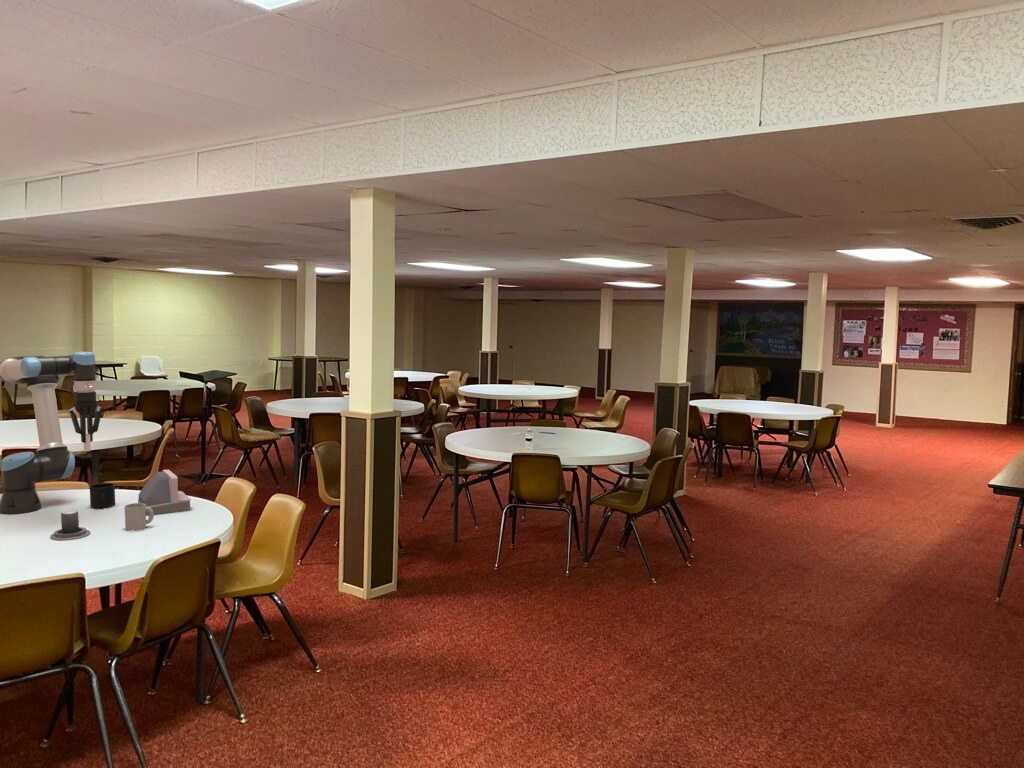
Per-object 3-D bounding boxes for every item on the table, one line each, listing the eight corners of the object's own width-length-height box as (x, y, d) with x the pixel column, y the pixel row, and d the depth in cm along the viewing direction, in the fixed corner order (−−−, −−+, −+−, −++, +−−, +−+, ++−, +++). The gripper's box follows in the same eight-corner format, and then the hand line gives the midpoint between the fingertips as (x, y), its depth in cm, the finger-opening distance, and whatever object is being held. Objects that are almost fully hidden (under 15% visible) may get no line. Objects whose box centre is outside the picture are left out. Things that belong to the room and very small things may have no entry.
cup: (124, 527, 310) (124, 504, 309) (153, 523, 315) (152, 501, 314) (126, 531, 304) (125, 508, 303) (154, 528, 309) (154, 505, 308)
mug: (90, 511, 333) (89, 490, 332) (90, 505, 344) (89, 484, 343) (115, 509, 337) (114, 487, 336) (115, 502, 348) (114, 482, 347)
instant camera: (191, 512, 334) (190, 476, 332) (136, 517, 325) (135, 480, 324) (188, 501, 353) (187, 467, 351) (136, 505, 344) (135, 471, 343)
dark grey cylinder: (59, 534, 298) (58, 512, 297) (75, 531, 302) (74, 509, 301) (65, 537, 294) (64, 514, 293) (81, 533, 298) (80, 512, 297)
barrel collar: (44, 535, 297) (44, 531, 297) (81, 528, 307) (81, 524, 307) (58, 542, 289) (58, 537, 289) (96, 535, 299) (96, 530, 298)
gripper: (71, 393, 308) (73, 453, 311) (106, 390, 318) (108, 449, 320) (63, 391, 313) (66, 451, 315) (98, 389, 323) (100, 447, 325)
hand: (87, 450), depth 318 cm, fingers closed
